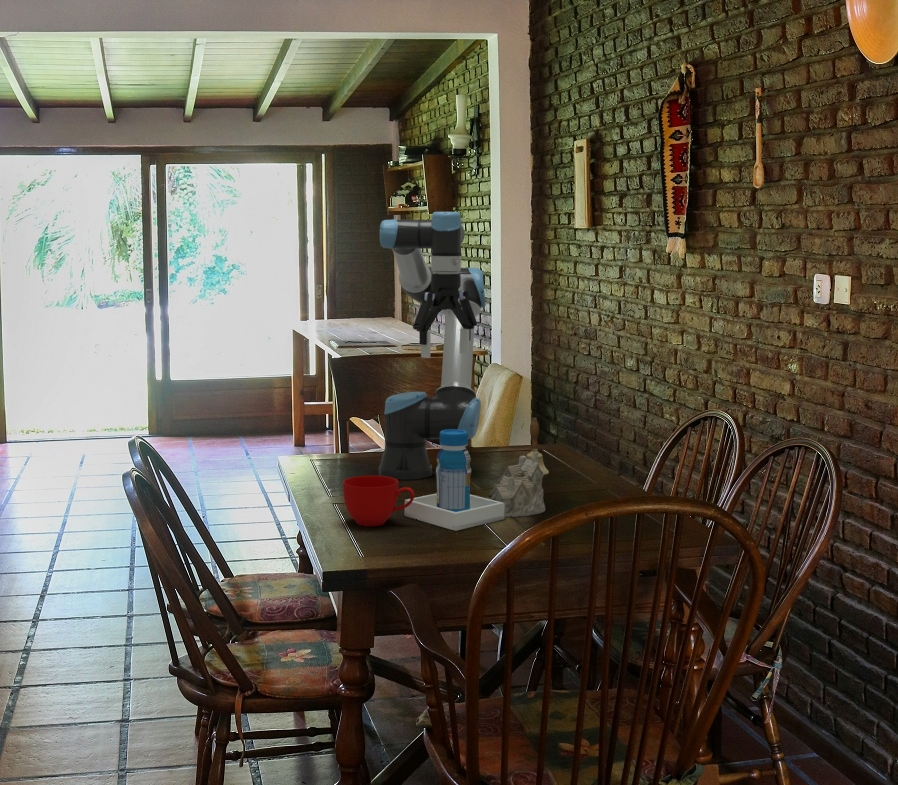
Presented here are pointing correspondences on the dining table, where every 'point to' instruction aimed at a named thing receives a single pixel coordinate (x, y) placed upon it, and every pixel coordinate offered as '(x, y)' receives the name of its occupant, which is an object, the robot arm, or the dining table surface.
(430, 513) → the tray
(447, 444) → the beverage bottle
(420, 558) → the dining table surface
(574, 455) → the dining table surface
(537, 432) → the hand bell
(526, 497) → the ceramic cottage
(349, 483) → the ceramic cup
